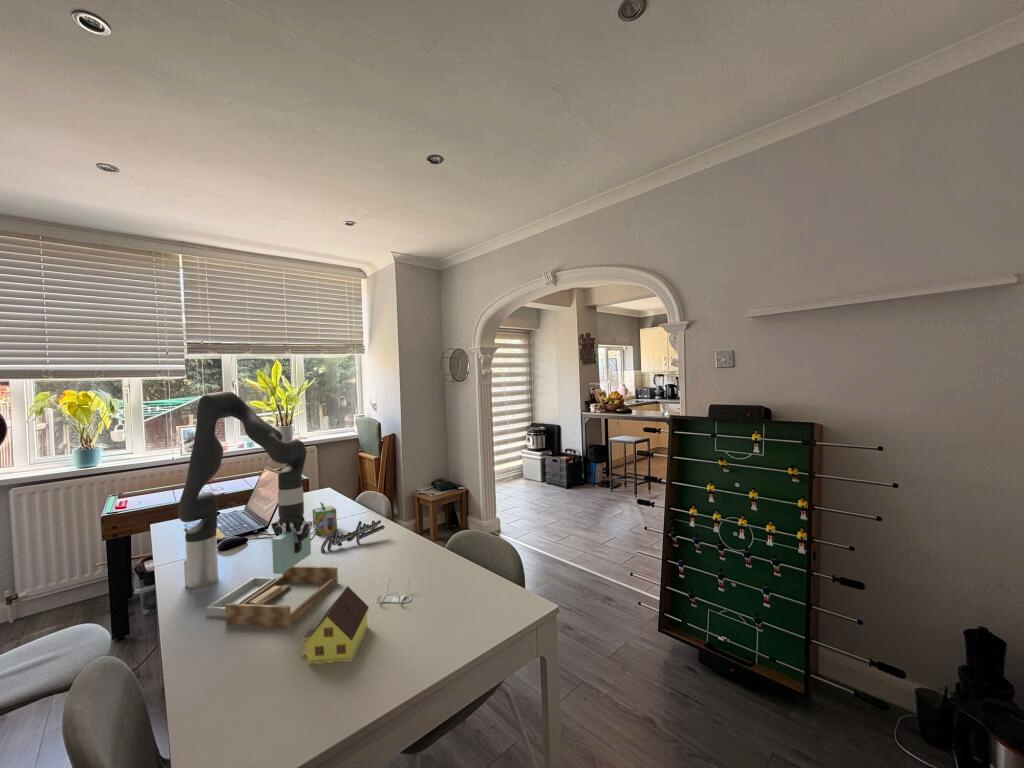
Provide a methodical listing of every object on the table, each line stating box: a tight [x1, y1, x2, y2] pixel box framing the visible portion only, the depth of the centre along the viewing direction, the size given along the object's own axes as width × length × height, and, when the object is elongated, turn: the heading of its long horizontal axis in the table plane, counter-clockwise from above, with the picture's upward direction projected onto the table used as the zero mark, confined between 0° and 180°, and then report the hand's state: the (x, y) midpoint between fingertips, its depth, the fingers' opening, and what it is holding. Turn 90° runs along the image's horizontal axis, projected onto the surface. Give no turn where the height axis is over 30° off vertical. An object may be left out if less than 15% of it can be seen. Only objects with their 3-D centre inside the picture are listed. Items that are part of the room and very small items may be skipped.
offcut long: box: [262, 584, 291, 605], centre depth 141 cm, size 2×18×2 cm, turn 169°
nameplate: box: [320, 519, 385, 553], centre depth 188 cm, size 28×2×10 cm, turn 122°
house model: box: [300, 585, 370, 664], centre depth 117 cm, size 18×20×13 cm
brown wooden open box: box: [225, 565, 339, 628], centre depth 141 cm, size 21×27×6 cm
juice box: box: [312, 502, 338, 537], centre depth 206 cm, size 9×9×15 cm
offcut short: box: [249, 585, 282, 605], centre depth 140 cm, size 2×11×2 cm, turn 168°
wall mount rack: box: [374, 577, 413, 605], centre depth 141 cm, size 12×10×4 cm
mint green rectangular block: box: [271, 525, 312, 575], centre depth 140 cm, size 3×15×11 cm, turn 172°
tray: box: [205, 576, 277, 618], centre depth 143 cm, size 9×21×3 cm, turn 172°
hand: (292, 552), depth 140 cm, fingers closed on mint green rectangular block, 3 cm apart
